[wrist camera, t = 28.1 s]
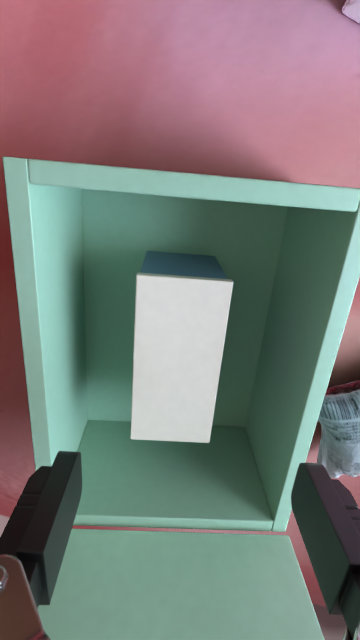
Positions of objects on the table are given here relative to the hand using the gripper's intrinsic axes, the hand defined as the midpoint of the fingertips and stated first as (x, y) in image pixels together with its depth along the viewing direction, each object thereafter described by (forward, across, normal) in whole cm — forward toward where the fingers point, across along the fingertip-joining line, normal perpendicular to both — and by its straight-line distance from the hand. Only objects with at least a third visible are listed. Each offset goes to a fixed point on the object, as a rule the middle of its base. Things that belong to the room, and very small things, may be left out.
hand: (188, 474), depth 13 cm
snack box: (+13, 0, 0) cm, 13 cm away
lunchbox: (+14, 0, 0) cm, 14 cm away
